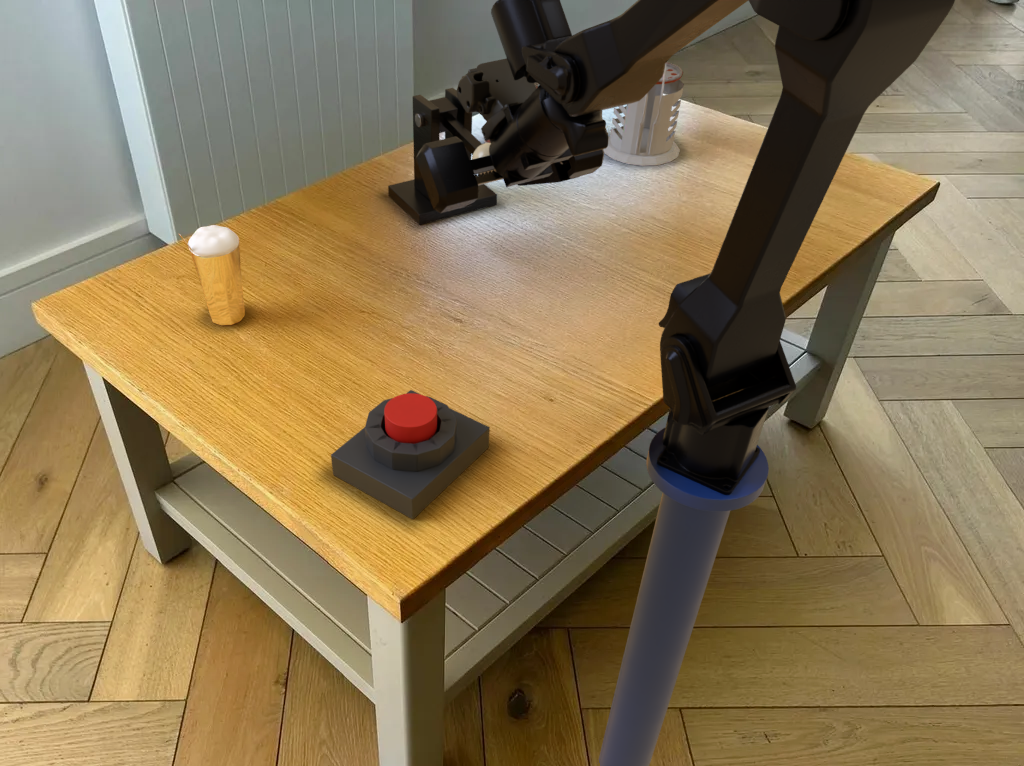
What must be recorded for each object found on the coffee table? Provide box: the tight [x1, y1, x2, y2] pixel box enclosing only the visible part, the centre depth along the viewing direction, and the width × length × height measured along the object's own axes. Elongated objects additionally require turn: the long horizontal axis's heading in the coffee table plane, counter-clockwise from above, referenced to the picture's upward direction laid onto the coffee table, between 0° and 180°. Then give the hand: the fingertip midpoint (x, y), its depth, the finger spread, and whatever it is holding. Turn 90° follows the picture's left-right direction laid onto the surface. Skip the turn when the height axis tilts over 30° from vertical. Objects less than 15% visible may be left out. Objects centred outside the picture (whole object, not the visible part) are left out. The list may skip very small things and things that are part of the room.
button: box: [384, 393, 437, 444], centre depth 69 cm, size 4×4×2 cm
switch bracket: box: [387, 87, 498, 226], centre depth 100 cm, size 8×10×12 cm
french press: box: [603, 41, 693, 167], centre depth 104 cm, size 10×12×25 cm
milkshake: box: [177, 224, 246, 326], centre depth 83 cm, size 4×5×10 cm
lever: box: [429, 96, 493, 174], centre depth 94 cm, size 13×3×3 cm, turn 28°
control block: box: [330, 389, 491, 520], centre depth 70 cm, size 8×10×4 cm
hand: (480, 190), depth 95 cm, fingers open, 9 cm apart
